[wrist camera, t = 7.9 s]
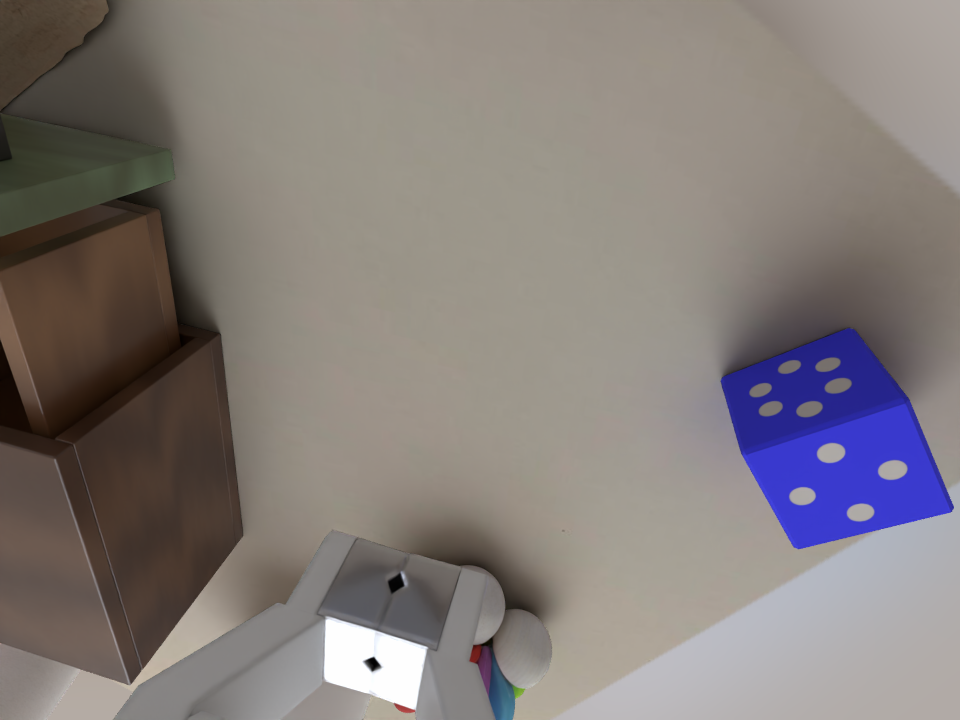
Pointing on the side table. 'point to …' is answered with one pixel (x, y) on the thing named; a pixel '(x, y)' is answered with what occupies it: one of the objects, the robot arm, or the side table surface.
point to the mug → (331, 704)
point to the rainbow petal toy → (506, 650)
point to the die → (833, 442)
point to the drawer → (78, 272)
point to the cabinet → (120, 517)
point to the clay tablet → (40, 37)
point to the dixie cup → (31, 684)
